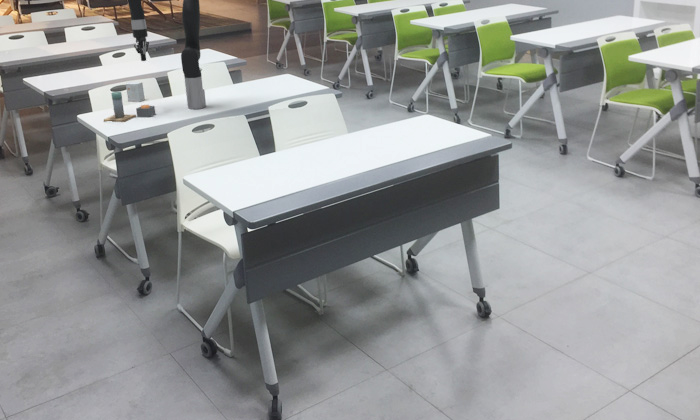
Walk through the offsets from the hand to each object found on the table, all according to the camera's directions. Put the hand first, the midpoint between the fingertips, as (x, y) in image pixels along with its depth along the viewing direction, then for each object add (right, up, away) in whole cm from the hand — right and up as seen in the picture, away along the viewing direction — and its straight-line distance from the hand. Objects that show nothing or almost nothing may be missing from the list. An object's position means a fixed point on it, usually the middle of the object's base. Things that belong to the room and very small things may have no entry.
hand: (143, 60), depth 395 cm
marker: (-10, -31, -8) cm, 34 cm away
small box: (-15, -16, +36) cm, 42 cm away
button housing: (+2, -30, -2) cm, 30 cm away
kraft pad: (-10, -32, -8) cm, 35 cm away
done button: (+2, -28, -3) cm, 28 cm away
